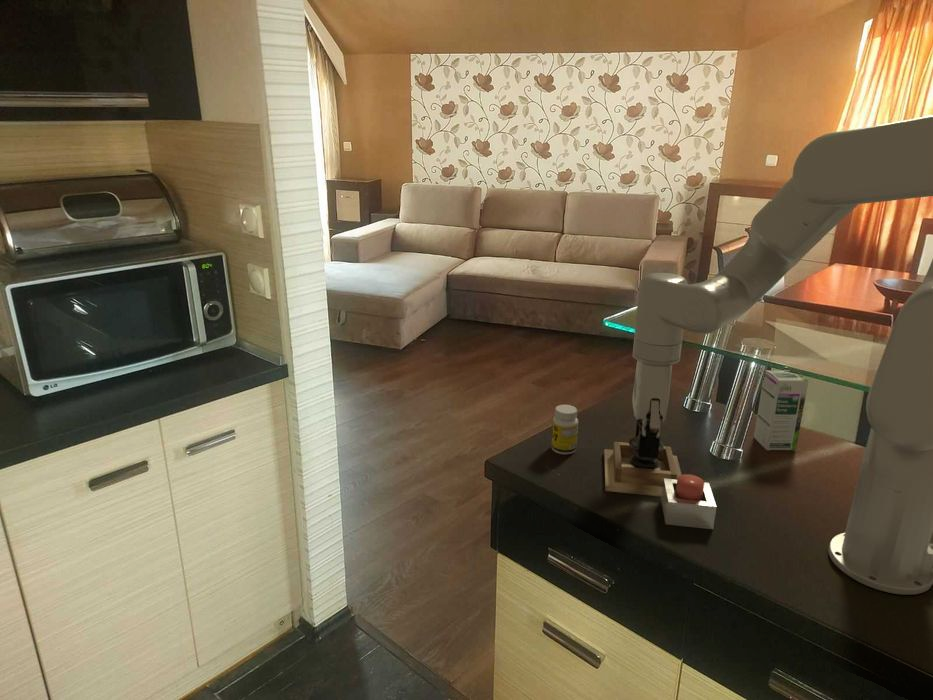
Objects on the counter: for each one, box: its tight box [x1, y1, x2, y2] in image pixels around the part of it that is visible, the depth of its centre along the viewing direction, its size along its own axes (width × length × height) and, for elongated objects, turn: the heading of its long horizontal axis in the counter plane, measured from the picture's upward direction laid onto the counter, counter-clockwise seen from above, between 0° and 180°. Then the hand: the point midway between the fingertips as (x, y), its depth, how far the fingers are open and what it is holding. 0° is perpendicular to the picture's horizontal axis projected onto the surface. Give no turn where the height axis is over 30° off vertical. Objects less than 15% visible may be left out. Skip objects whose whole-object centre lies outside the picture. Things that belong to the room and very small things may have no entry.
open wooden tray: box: [603, 441, 682, 497], centre depth 113 cm, size 13×13×4 cm
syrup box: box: [753, 369, 809, 452], centre depth 123 cm, size 6×6×14 cm
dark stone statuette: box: [628, 414, 665, 470], centre depth 111 cm, size 6×6×12 cm
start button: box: [675, 473, 705, 501], centre depth 101 cm, size 4×4×3 cm
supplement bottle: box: [550, 404, 579, 455], centre depth 121 cm, size 5×5×8 cm
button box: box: [660, 478, 718, 530], centre depth 102 cm, size 7×7×4 cm
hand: (646, 446), depth 112 cm, fingers closed on dark stone statuette, 5 cm apart
